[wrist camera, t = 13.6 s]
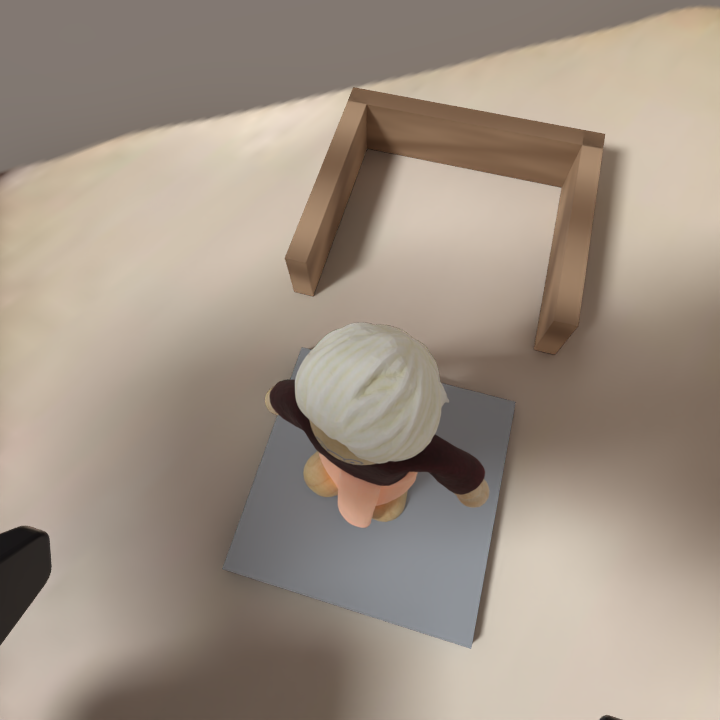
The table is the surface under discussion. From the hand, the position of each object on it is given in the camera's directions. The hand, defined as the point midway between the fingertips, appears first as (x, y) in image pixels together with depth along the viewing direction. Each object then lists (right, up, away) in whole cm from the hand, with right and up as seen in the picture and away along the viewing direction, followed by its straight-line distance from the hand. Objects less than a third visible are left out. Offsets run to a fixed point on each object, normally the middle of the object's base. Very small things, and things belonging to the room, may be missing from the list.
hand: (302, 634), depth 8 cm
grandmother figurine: (+1, -1, +14) cm, 14 cm away
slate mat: (+2, -1, +14) cm, 14 cm away
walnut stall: (+5, +11, +19) cm, 23 cm away
